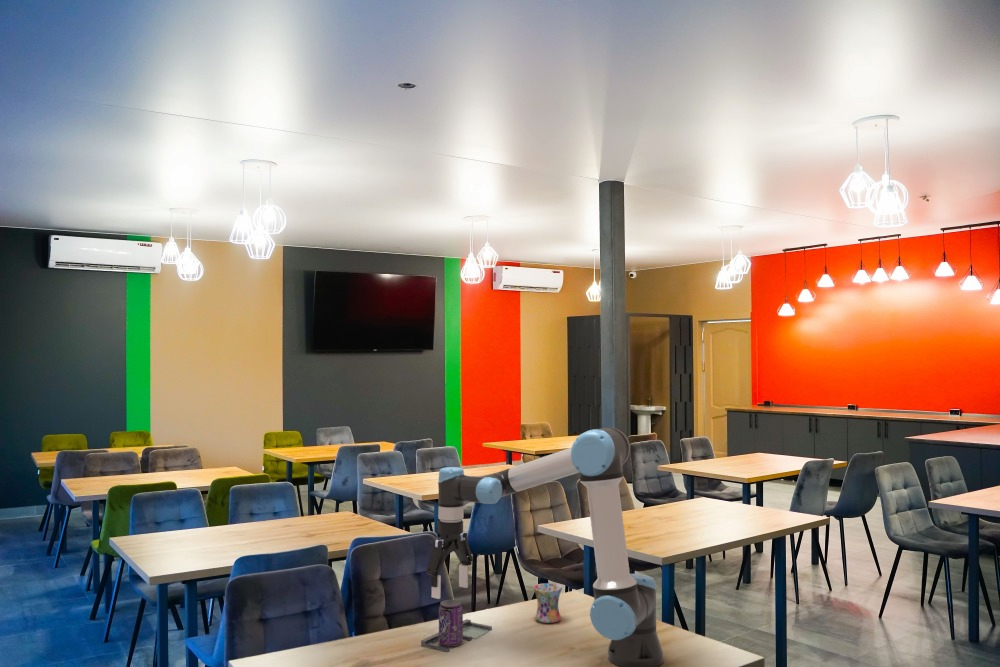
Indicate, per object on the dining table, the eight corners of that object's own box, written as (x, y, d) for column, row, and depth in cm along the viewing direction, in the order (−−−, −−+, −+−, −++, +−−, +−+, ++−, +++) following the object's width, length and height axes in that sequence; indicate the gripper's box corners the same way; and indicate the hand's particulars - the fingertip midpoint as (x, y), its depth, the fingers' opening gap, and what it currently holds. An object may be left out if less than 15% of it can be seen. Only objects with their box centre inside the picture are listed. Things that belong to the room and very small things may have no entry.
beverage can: (435, 642, 227) (435, 601, 228) (457, 638, 230) (457, 598, 231) (443, 649, 221) (443, 607, 221) (466, 645, 224) (466, 604, 224)
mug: (562, 625, 242) (562, 591, 243) (533, 625, 242) (533, 590, 243) (561, 613, 254) (561, 581, 255) (533, 613, 254) (533, 580, 255)
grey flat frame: (493, 629, 238) (493, 624, 238) (448, 652, 218) (448, 646, 218) (466, 624, 243) (466, 619, 243) (421, 646, 224) (421, 640, 224)
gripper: (464, 512, 240) (464, 580, 239) (414, 525, 219) (413, 600, 218) (484, 514, 236) (483, 584, 235) (435, 528, 215) (434, 605, 214)
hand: (449, 592), depth 226 cm, fingers open, 13 cm apart
